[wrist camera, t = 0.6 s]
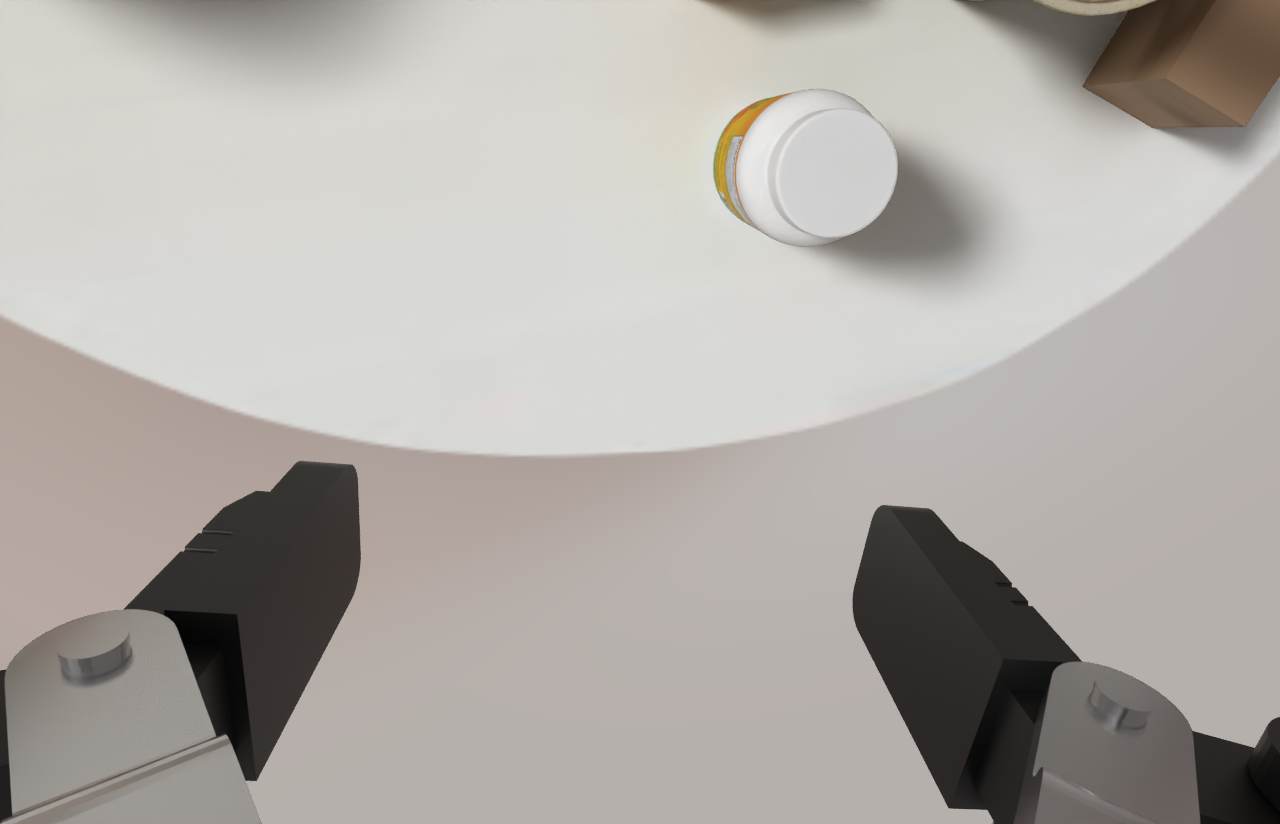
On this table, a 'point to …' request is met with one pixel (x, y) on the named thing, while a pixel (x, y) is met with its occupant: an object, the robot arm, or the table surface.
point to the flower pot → (1091, 6)
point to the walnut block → (1191, 62)
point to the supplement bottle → (805, 167)
